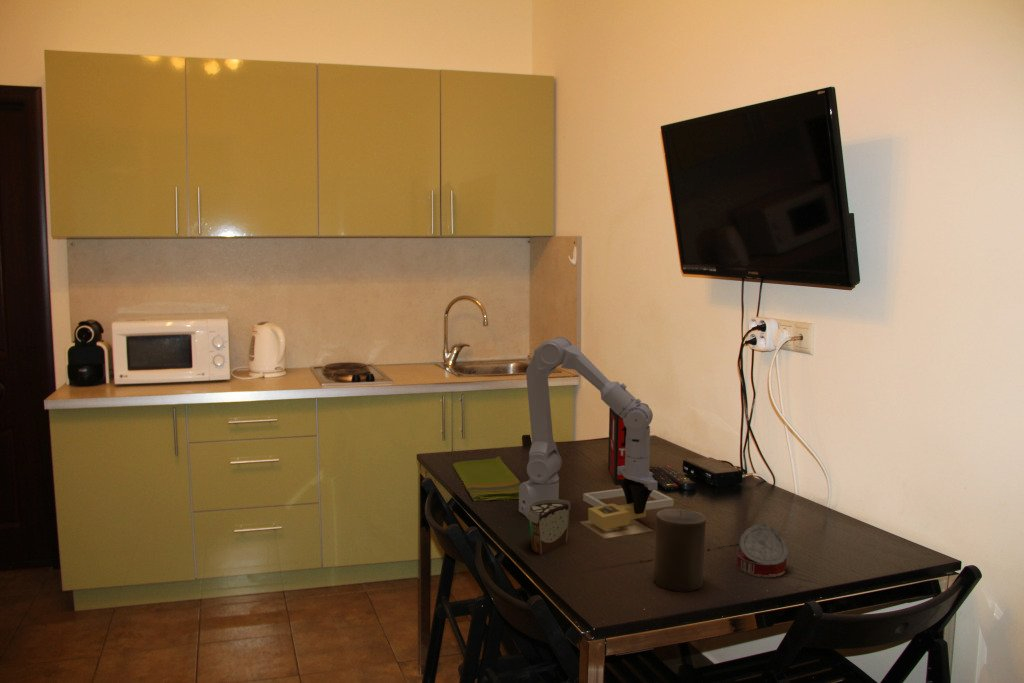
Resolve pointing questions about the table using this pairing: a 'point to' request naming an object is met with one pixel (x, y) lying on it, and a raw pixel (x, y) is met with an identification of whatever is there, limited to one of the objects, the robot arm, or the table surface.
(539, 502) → the food container
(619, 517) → the tabbed collar
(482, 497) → the dish towel
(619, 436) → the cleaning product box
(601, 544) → the table surface
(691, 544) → the pillar candle
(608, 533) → the board
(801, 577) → the table surface
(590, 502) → the tray
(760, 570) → the canned food
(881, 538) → the table surface
